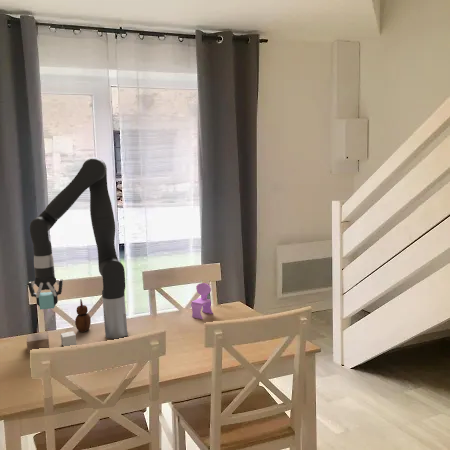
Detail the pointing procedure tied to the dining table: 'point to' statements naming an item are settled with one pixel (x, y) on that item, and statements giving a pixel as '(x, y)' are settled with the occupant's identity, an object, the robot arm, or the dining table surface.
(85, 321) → the wooden figurine
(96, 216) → the robot arm
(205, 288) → the toy chair
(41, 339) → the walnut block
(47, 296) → the teal cube
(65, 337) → the grey cube
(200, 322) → the dining table surface
